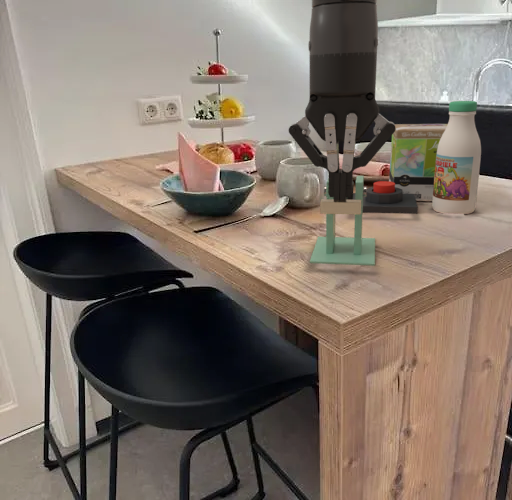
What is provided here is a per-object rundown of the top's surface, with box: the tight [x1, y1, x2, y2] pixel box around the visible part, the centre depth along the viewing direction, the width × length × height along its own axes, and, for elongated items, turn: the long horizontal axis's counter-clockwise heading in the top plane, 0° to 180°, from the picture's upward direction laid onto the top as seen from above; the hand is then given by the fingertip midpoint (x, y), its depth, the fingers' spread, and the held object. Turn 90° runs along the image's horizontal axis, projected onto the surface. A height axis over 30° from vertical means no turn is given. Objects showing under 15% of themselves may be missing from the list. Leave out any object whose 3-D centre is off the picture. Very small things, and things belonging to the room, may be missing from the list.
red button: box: [372, 180, 395, 193], centre depth 96 cm, size 4×4×2 cm
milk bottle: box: [431, 100, 482, 215], centre depth 92 cm, size 8×8×20 cm
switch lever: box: [319, 181, 361, 215], centre depth 67 cm, size 12×5×2 cm, turn 167°
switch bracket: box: [309, 175, 376, 267], centre depth 73 cm, size 11×9×12 cm
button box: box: [353, 186, 419, 215], centre depth 97 cm, size 12×10×4 cm
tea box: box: [388, 123, 448, 202], centre depth 103 cm, size 15×10×15 cm, turn 80°
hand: (339, 200), depth 62 cm, fingers closed
